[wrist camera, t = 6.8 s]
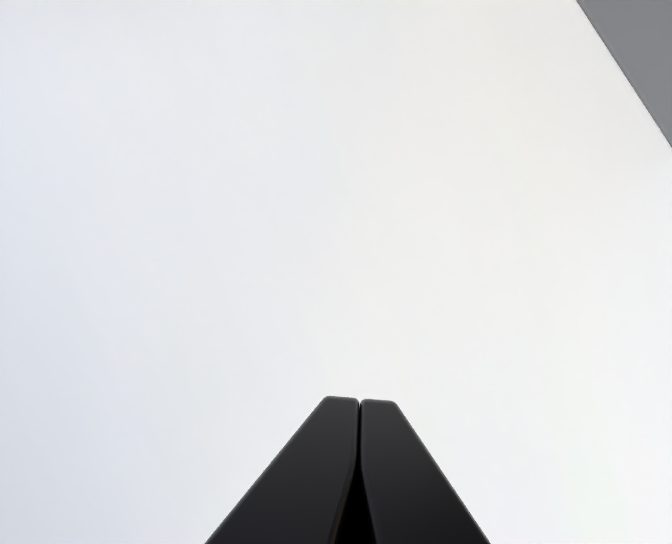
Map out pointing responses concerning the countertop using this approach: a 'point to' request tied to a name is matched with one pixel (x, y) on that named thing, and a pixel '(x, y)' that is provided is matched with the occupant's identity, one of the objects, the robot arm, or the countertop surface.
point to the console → (640, 49)
